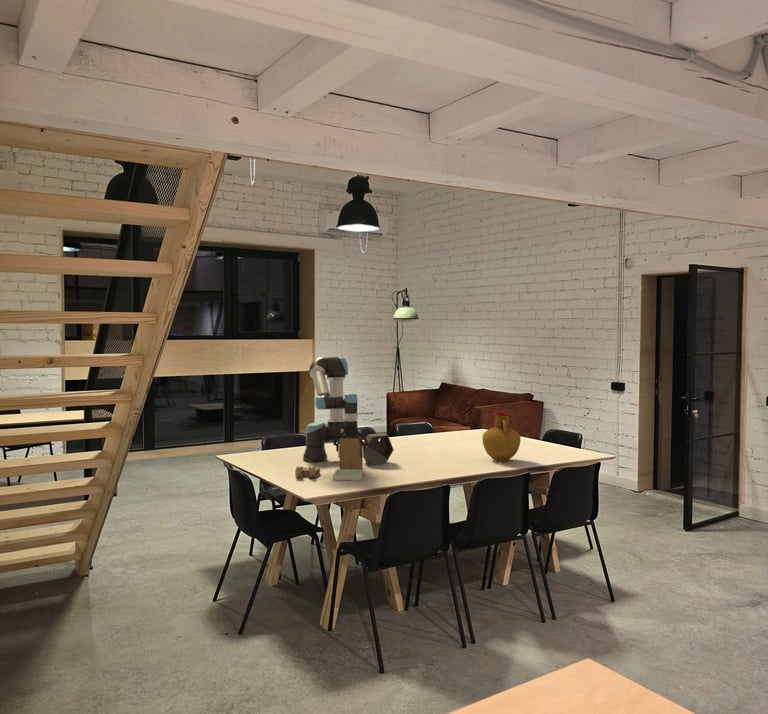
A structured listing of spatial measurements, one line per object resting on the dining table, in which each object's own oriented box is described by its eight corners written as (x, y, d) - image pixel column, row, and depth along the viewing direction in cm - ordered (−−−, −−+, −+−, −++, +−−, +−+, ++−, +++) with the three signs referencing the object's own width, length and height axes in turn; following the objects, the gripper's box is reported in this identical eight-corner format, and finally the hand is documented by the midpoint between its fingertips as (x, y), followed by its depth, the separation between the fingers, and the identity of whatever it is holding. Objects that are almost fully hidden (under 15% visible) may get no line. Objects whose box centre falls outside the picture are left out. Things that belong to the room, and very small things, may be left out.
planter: (359, 457, 399) (377, 428, 403) (355, 455, 406) (372, 426, 410) (381, 471, 405) (398, 442, 409) (376, 469, 412) (393, 440, 416)
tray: (335, 474, 374) (335, 469, 374) (362, 474, 374) (362, 469, 373) (332, 480, 359) (332, 474, 359) (360, 480, 358) (360, 475, 358)
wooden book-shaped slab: (299, 473, 377) (299, 466, 376) (320, 474, 375) (320, 467, 375) (295, 476, 369) (295, 469, 369) (316, 477, 367) (316, 470, 367)
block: (349, 469, 388) (349, 435, 388) (363, 471, 382) (363, 437, 382) (338, 472, 380) (338, 437, 379) (352, 474, 374) (352, 439, 374)
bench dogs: (296, 477, 366) (296, 466, 366) (315, 477, 366) (315, 466, 365) (295, 478, 362) (295, 467, 362) (314, 479, 362) (315, 468, 362)
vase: (524, 464, 408) (525, 415, 407) (486, 464, 407) (487, 415, 405) (514, 457, 432) (515, 411, 431) (478, 457, 430) (479, 411, 429)
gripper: (328, 421, 377) (328, 458, 377) (372, 421, 376) (372, 458, 376) (329, 419, 384) (329, 456, 385) (372, 419, 383) (373, 456, 384)
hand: (350, 457), depth 380 cm, fingers open, 13 cm apart
